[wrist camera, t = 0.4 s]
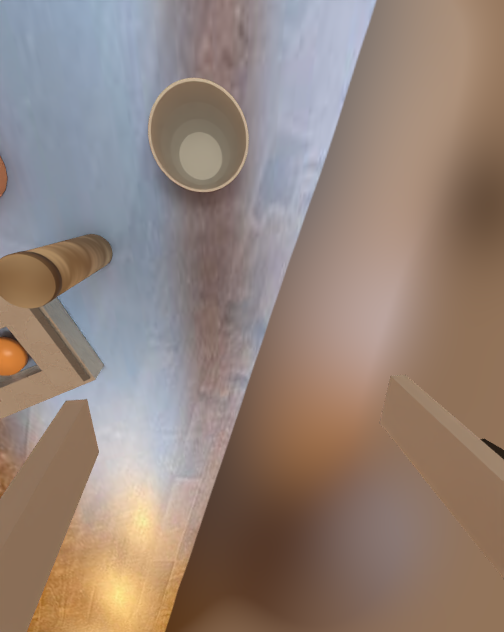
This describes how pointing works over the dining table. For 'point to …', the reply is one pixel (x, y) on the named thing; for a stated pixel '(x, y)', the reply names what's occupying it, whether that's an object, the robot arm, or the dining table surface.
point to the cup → (198, 135)
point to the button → (11, 356)
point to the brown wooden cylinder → (51, 269)
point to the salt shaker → (2, 177)
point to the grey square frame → (45, 355)
